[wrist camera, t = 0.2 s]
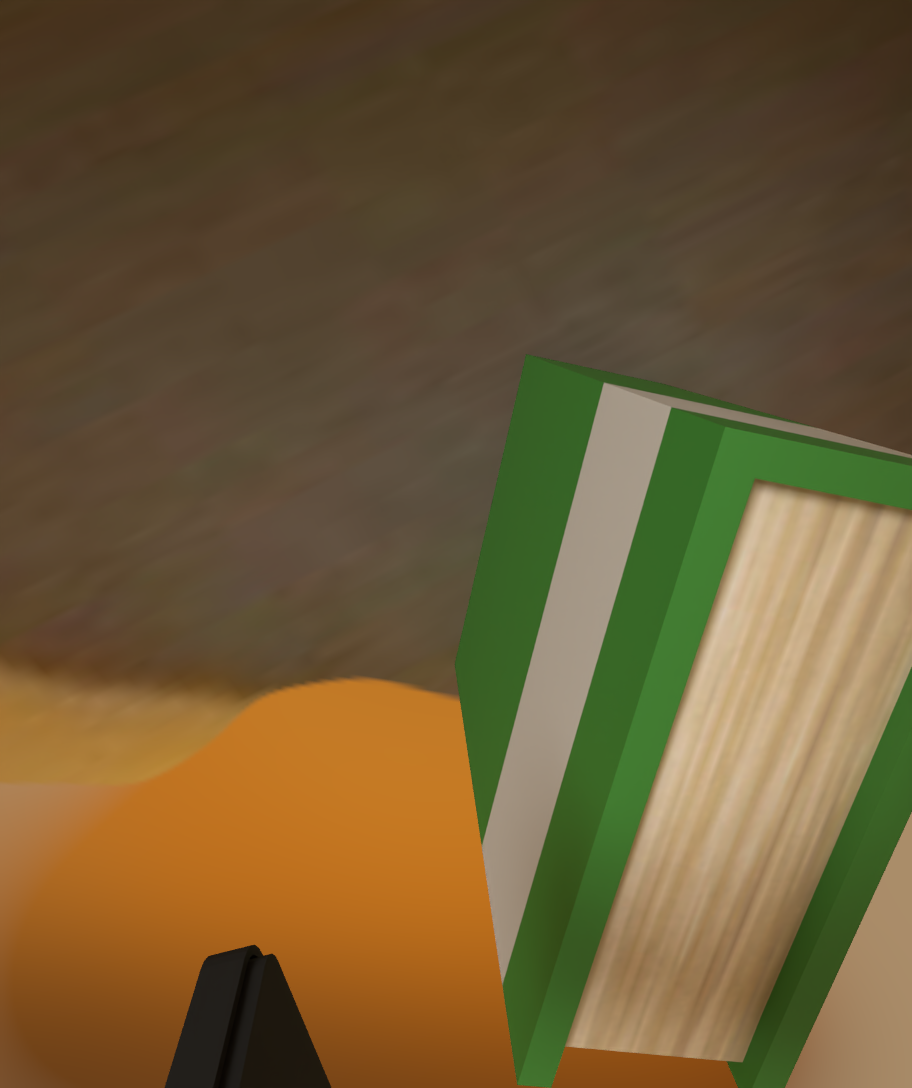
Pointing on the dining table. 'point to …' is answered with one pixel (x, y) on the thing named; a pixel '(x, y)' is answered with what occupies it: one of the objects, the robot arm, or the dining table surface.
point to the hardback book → (683, 717)
